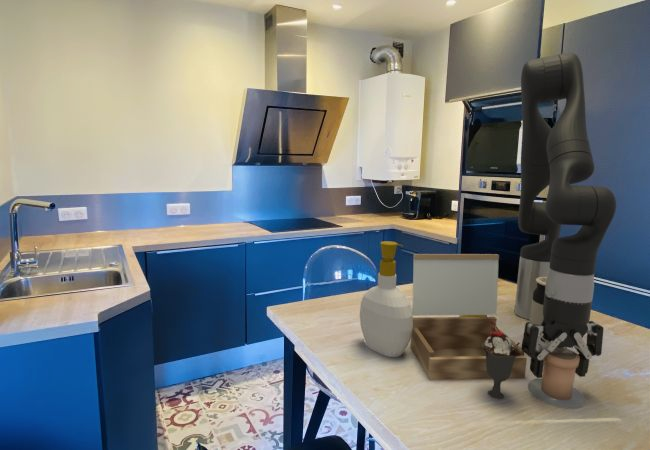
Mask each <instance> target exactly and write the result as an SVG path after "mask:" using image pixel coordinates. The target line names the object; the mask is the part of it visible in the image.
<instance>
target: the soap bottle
mask: <svg viewBox="0 0 650 450" xmlns="http://www.w3.org/2000/svg"><path fill="white" fill-rule="evenodd" d="M397 246H400V247H404V245H403V244H400V243H397V242H396V241H389V240H388V241H380V249H381V250H380V251H381V258H382V259H380V260H379V272H378V274H377V285H376V286H372V287H371V288H369V289H368V290H367V291H366V292H364V294H363V295H362V298H361V301H360V307H359V308H360V309H359V319H360V320H359V321H360V322H359V325H360V328H361V331H362V335H363V339H364V341H365V344H366V346H367V347H368V348H369V349H371V350H372V351H374V352H376V353H378V354H379V355H382V356H386V357H389V358H398V357H401V356H403V354H404V353H405V352H406V349H407V347H408V346H409V345H410V342H411V334H412V328H413V318H414V316H413V314H412V307H411V306H412V305H411V302H410V301H409V300H408V298H407V296H406V295H405V293H403V292H402V291H401V290H400V289H399V288H397V277H398V276H397V273H396V272H397V271H396V269H397V267H396V266H397V261H396V260H394V259H395V257H396V252H397V251H396V250H397Z"/></svg>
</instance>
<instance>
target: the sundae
mask: <svg viewBox="0 0 650 450" xmlns="http://www.w3.org/2000/svg"><path fill="white" fill-rule="evenodd" d="M490 323H491V324H492V323H493V324H494V321H490ZM494 325H495V324H494ZM494 325H493V326H494ZM495 326H496V328H497V330H498V329H499V327H498V326H497V324H496V325H495ZM495 326H494V330H493V331H492V332H490V335H491V336H490V337H488V338H487V339H486V341H485V342H484V343H482V347H483V348H484V351H485V354H486V368H487V373H488V375H489V376H490V377H491V378H492V379H491V380H493V386H492V389H491V390H488V391H487V395H488V396H489V397H490V398H492V399H495V400H503V399H504V398H505V394H504V393H502V392H501V385H502V383H503V382H505V381H507V380H508V379H510V378H509V377H510V374H511V371H512V367H513V363H514V360H515V357H518V356H521V354H520V349H519V348H518V347H517V346H519V345H520V342H519V341H518V342H517V343H516V344H517V345H516V346H515V345H512V341H513V340H512V339H511V337H509V336H508V335H507V334H506V333H504V332H503V331H502V330H501V331H502V332H503V333H504V334H503V333H502V332H501V331H499V330H500V329H499V330H498V332H497V333H496V332H494V331H495Z"/></svg>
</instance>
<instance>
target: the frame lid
mask: <svg viewBox="0 0 650 450" xmlns="http://www.w3.org/2000/svg"><path fill="white" fill-rule="evenodd" d="M412 255H413V264H412V265H413V266H412V267H413V268H412V269H413V270H412V272H413V274H412V277H413V278H412V307H411V310H412V314H413V317H414V316H459V315H487V316H497V311H498V289H499V287H498V283H499V282H498V281H499V259H500V255H499V254H497V253H494V254H492V253H484V254H483V253H481V254H480V253H451V254H450V253H413V254H412Z"/></svg>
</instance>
